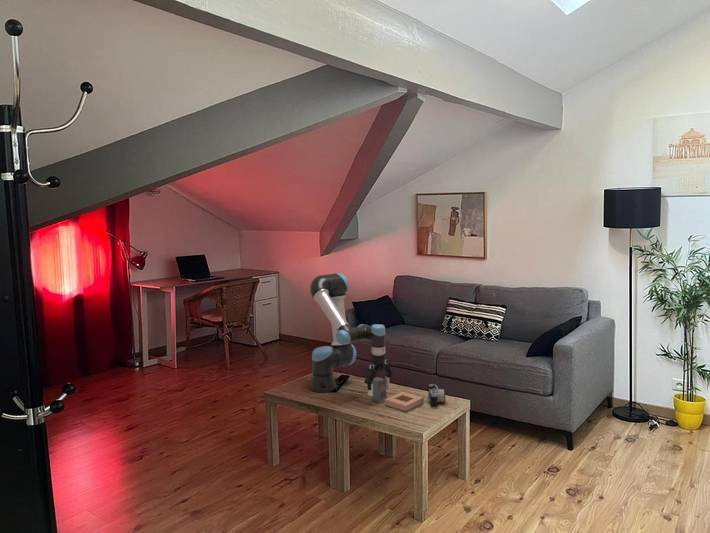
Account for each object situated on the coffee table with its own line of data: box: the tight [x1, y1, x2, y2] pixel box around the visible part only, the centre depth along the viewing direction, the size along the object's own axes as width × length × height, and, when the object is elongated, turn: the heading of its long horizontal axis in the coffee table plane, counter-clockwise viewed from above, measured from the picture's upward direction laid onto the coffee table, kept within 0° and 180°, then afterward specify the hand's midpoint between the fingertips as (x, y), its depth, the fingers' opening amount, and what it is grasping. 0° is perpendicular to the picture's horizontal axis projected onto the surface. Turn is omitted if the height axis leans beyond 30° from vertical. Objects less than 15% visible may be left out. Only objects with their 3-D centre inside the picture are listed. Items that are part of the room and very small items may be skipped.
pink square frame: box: [384, 391, 424, 413], centre depth 305 cm, size 14×15×4 cm
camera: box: [426, 383, 446, 409], centre depth 306 cm, size 16×9×10 cm, turn 176°
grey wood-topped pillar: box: [371, 376, 387, 404], centre depth 311 cm, size 6×5×12 cm
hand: (378, 392), depth 311 cm, fingers open, 13 cm apart
